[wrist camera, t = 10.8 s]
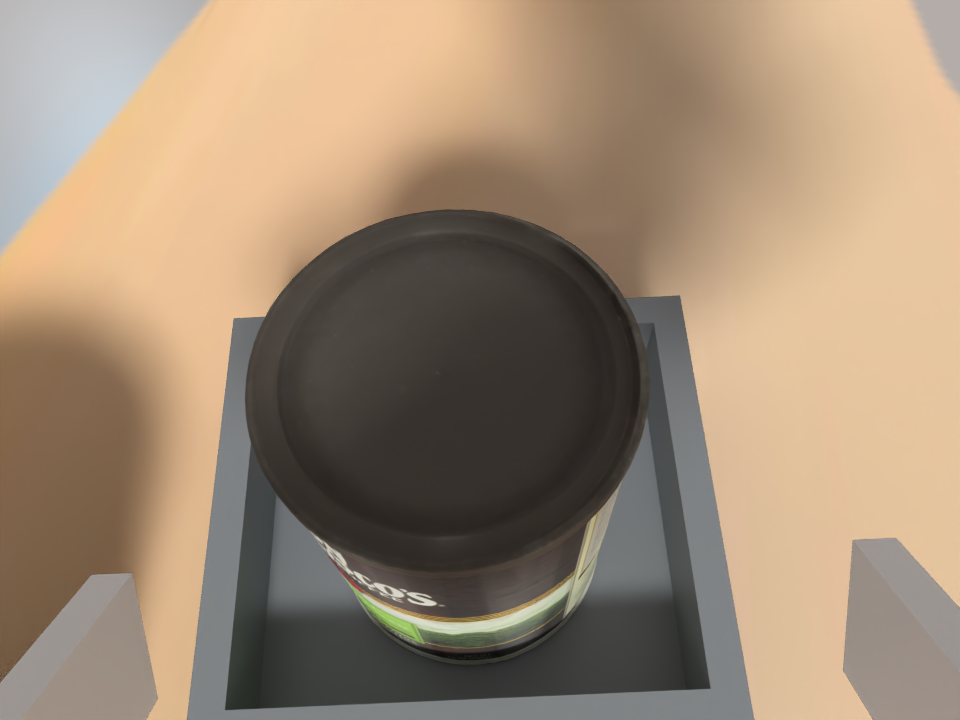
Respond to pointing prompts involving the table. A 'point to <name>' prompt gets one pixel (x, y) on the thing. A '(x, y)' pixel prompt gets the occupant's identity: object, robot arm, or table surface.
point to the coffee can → (452, 423)
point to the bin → (495, 686)
